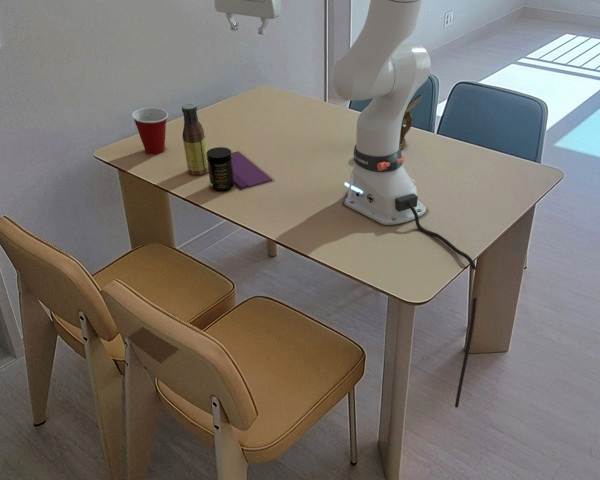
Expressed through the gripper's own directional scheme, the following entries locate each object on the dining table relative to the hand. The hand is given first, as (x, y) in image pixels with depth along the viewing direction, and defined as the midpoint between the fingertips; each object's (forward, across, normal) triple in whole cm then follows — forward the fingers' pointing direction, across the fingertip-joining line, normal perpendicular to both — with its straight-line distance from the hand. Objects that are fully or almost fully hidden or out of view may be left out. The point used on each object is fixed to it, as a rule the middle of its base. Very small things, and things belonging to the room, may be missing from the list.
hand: (248, 32), depth 183 cm
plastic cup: (+35, -26, -16) cm, 46 cm away
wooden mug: (+34, +38, +22) cm, 56 cm away
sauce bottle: (+35, -5, -21) cm, 41 cm away
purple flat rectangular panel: (+35, +5, -14) cm, 38 cm away
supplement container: (+35, +7, -25) cm, 44 cm away
